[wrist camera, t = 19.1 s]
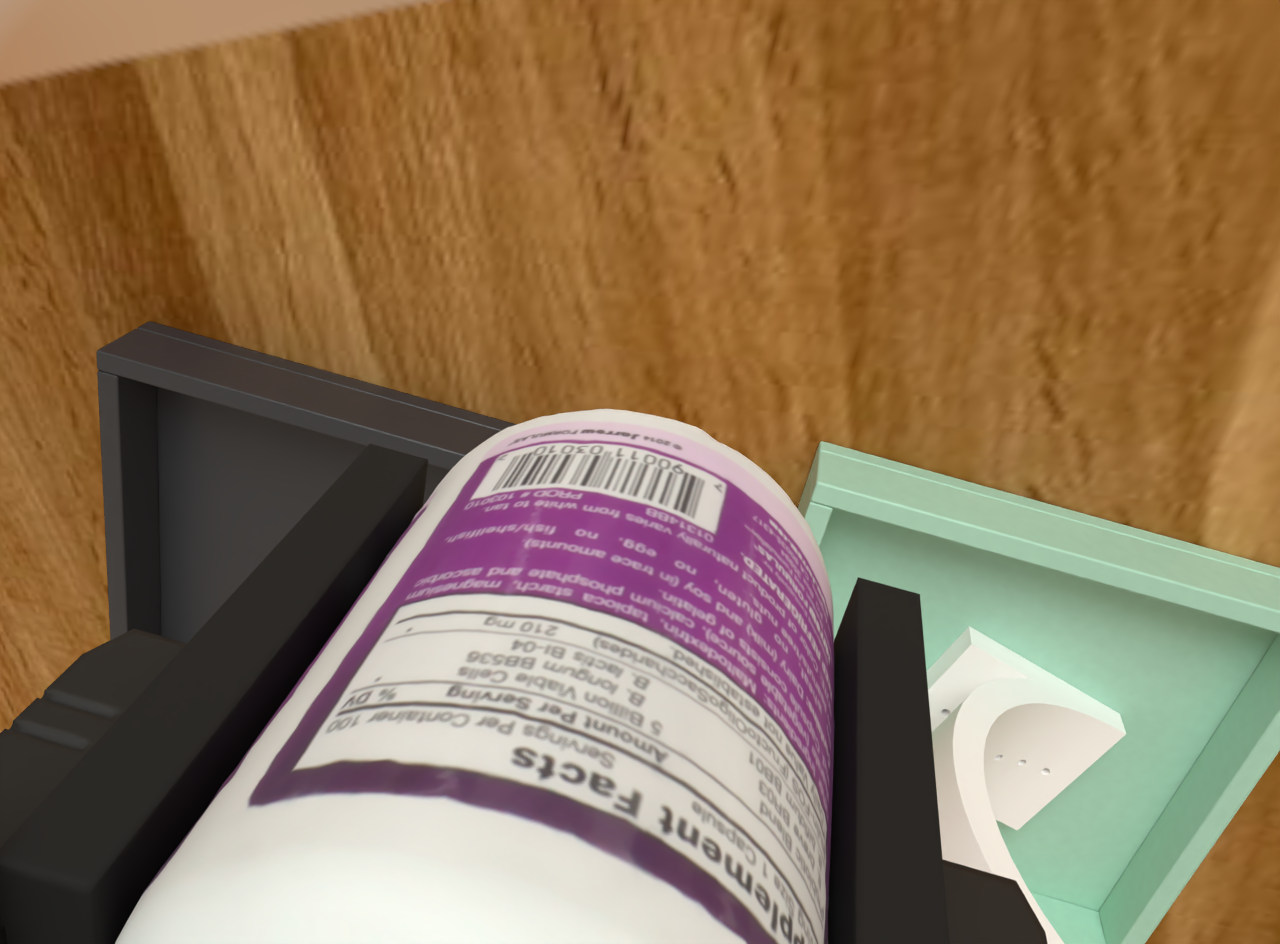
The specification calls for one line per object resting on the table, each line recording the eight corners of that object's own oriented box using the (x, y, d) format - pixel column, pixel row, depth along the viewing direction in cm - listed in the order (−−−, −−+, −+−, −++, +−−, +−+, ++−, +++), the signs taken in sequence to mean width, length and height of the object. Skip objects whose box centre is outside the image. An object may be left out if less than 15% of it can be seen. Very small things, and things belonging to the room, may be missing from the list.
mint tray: (820, 439, 28) (816, 481, 26) (1324, 578, 27) (1362, 634, 25) (702, 791, 34) (691, 847, 32) (1105, 912, 33) (1121, 979, 31)
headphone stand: (1014, 810, 31) (1087, 1255, 21) (842, 711, 31) (829, 1117, 20) (1121, 713, 29) (1265, 1158, 19) (937, 605, 29) (979, 1000, 18)
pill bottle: (637, 800, 15) (369, 1880, 7) (351, 564, 14) (-378, 1516, 6) (933, 602, 13) (1067, 1914, 4) (612, 299, 12) (-3, 1290, 3)
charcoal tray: (149, 319, 30) (95, 349, 28) (594, 445, 29) (573, 486, 27) (156, 671, 36) (113, 717, 34) (521, 782, 35) (500, 836, 33)
